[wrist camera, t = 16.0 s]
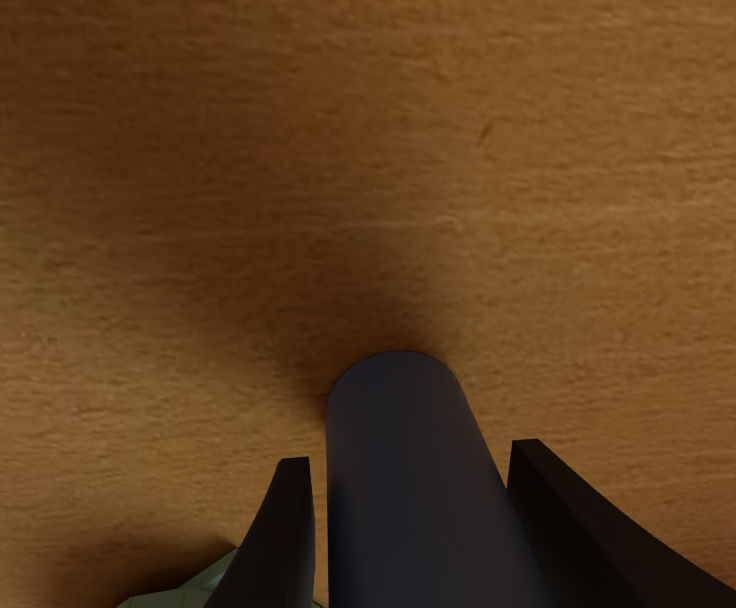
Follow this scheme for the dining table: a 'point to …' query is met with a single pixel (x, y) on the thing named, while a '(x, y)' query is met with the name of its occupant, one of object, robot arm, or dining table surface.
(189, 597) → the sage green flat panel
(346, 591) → the blue gray cylinder
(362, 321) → the dining table surface
